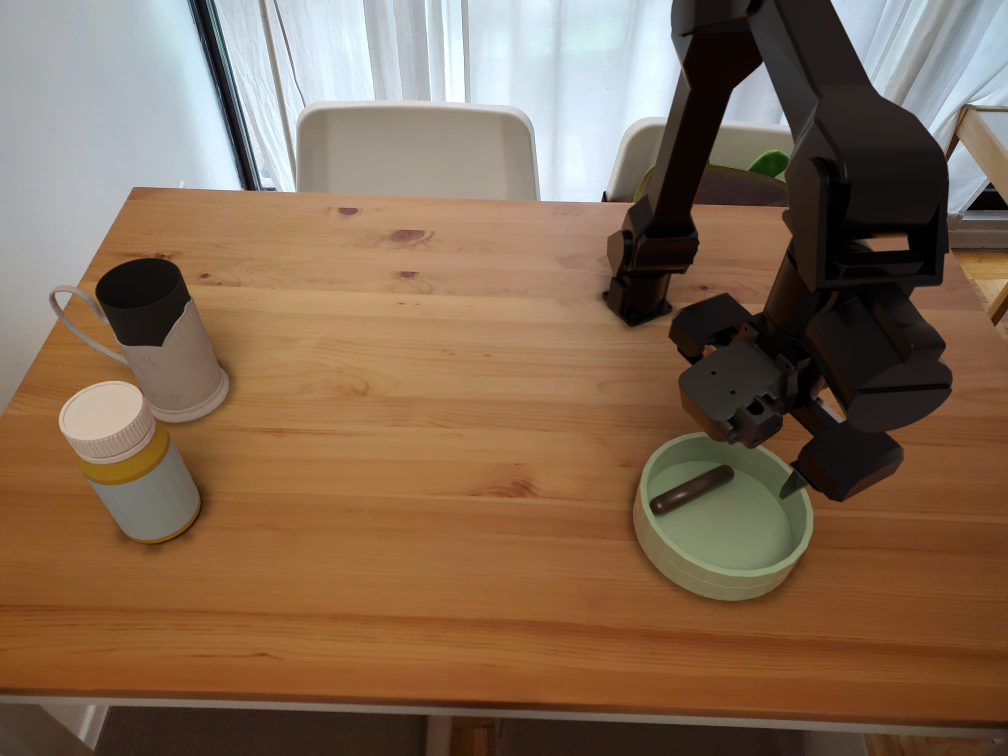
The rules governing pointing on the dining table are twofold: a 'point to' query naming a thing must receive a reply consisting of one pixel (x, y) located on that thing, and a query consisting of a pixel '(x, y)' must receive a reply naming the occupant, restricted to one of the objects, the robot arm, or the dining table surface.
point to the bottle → (130, 461)
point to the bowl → (722, 519)
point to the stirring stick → (691, 490)
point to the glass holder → (156, 337)
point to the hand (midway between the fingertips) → (745, 454)
